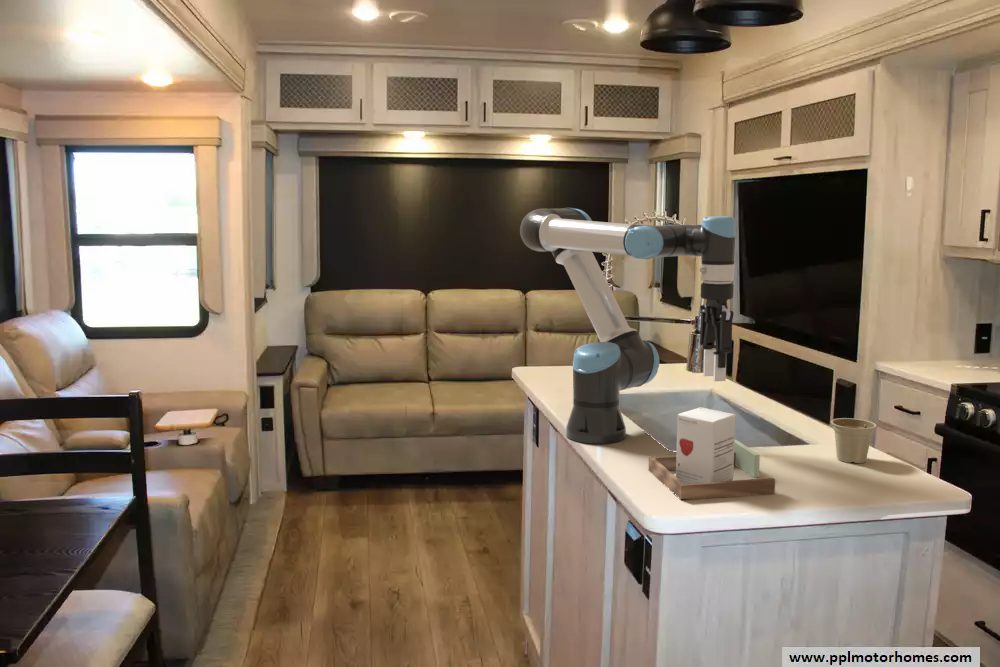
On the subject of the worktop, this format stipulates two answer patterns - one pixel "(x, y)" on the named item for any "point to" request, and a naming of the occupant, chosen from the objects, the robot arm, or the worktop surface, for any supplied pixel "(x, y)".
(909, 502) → the worktop surface
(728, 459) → the supplement box
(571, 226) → the robot arm
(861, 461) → the flower pot
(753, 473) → the green piece
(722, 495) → the housing
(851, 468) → the worktop surface
